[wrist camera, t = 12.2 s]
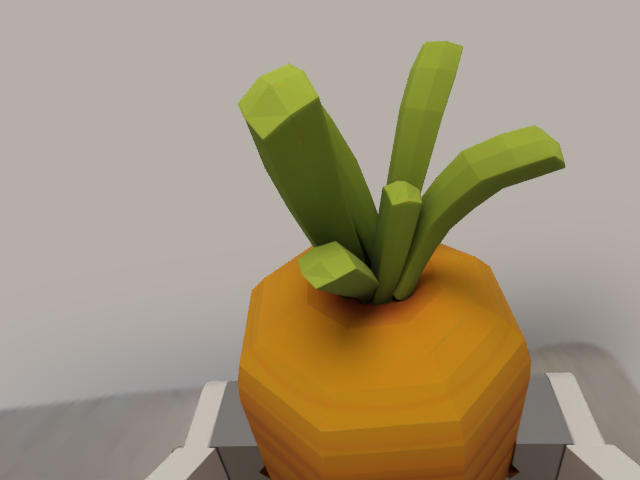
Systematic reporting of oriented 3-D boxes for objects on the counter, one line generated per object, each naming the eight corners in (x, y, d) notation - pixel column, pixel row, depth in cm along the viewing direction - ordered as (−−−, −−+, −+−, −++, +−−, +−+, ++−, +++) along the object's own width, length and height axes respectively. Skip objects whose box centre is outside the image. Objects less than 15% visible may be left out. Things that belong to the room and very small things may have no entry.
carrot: (423, 473, 17) (418, -16, 8) (528, 636, 13) (721, 23, 4) (287, 542, 15) (119, 47, 7) (357, 747, 11) (168, 181, 3)
